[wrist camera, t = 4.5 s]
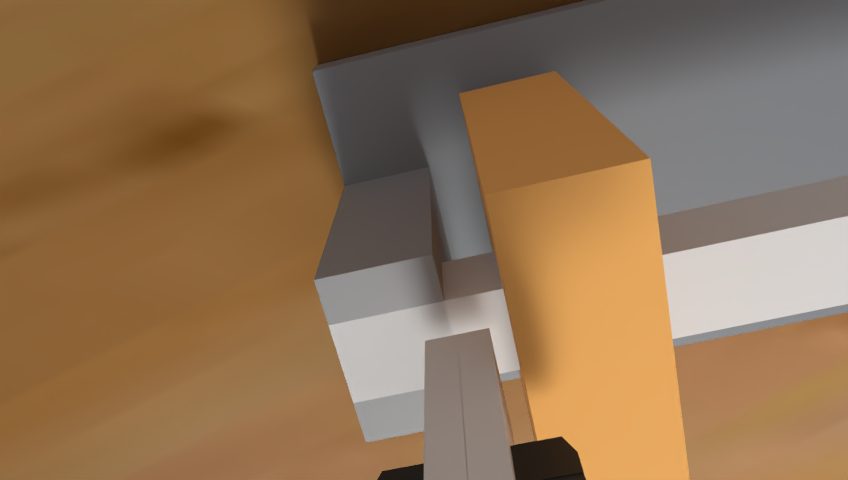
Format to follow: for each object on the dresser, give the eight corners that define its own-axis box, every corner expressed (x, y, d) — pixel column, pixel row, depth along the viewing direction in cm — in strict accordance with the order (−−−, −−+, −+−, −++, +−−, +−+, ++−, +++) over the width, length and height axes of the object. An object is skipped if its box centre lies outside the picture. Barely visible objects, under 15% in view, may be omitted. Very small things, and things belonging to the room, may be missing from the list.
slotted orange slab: (517, 365, 26) (570, 596, 17) (458, 93, 22) (485, 195, 13) (600, 348, 26) (700, 573, 17) (554, 70, 22) (650, 158, 13)
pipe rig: (407, 379, 30) (400, 555, 21) (318, 64, 25) (263, 125, 16) (1127, 233, 27) (1451, 363, 19) (1178, -143, 23) (1641, -200, 14)
